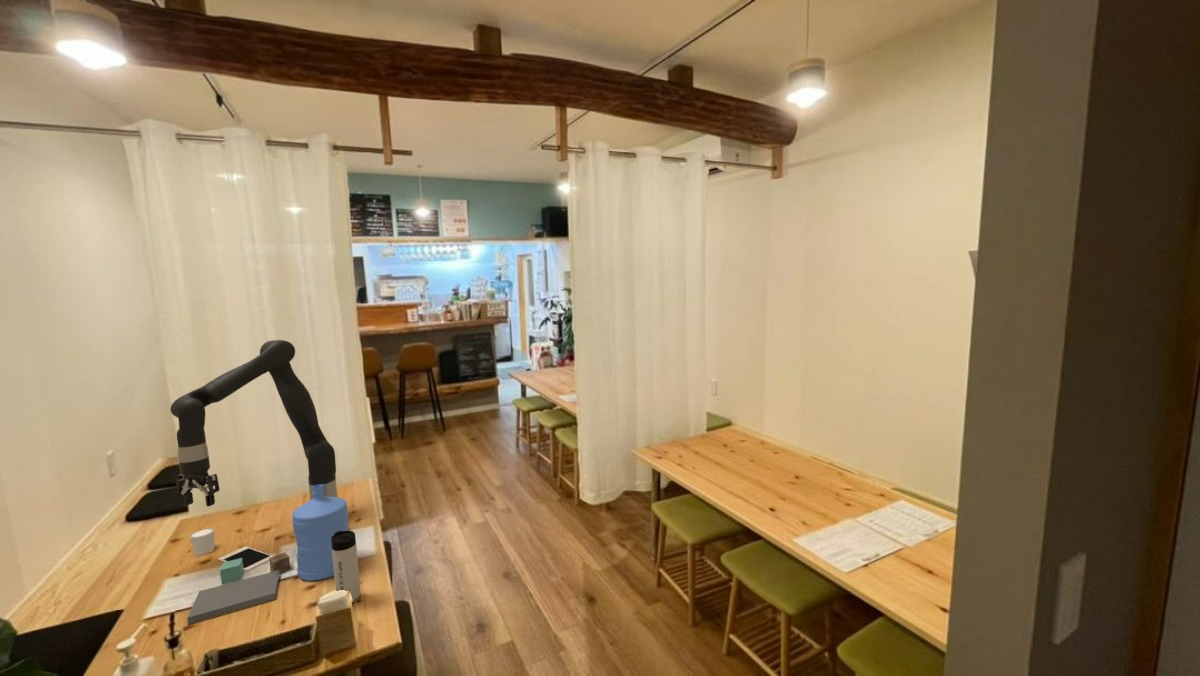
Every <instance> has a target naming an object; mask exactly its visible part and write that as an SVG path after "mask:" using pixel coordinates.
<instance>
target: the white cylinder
mask: <svg viewBox="0 0 1200 676" xmlns="http://www.w3.org/2000/svg"><path fill="white" fill-rule="evenodd" d="M215 531H216V530H215V528H210V527H209V528H203V529H200V530H197V531H195V532H193V533H191V535H189V538H190V542H191V546H192V550H193V554H194V556H198V557H200V556H204V555H207V554H210V553H212V552H213V551H214V550H215V546H216V544H215V539H216V538H215V537H216V535H215V534H216V532H215Z"/></svg>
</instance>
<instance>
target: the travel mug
mask: <svg viewBox="0 0 1200 676" xmlns="http://www.w3.org/2000/svg"><path fill="white" fill-rule="evenodd" d="M356 540H357V539H356V533H355V532H354V531H352V530H350V531H341V530H340V531H338V532H336V533H334V535H333V536H332V538H331V543H332V556H333V567H334V585H335V592H336V591H339V590H345V591H349V592H350V593H351V596H352V598H353V601H354V603H356V602H357V601H359V600H360V598H361V596H362V594H361V583H360V573H359V560H358V551H357V550H358V549H357V541H356Z"/></svg>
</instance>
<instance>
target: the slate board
mask: <svg viewBox="0 0 1200 676" xmlns="http://www.w3.org/2000/svg"><path fill="white" fill-rule="evenodd" d="M279 580H280V574H279V570H277V571H274V572H271V571H270V572H266V573H262V574H258V575H256V576H251V577H249V578H248V577H247V578H244V579H243V578H242V580H239V581H235V582H231V583H227V584H223V585H222V584H221V585H218V586H214V587H210V588H206V589H202V590H199V592H198V593H197V595H196V598H195V600H194V602H193V604H192V606H191V609H190V611H189V614H188V615H187V618H186V619H187V625H192V624H195V623H199V622H202V621H206V620H209V619H213V618H217V617H220V616H222V615H225V614H226V615H227V614H230V613H234V612H237V611H240V610H243V609H247V608H250V607H253V606H257V605H260V604H265V603H268V602H271V601H274V600H276V597H277V591H278V586H279Z"/></svg>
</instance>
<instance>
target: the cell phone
mask: <svg viewBox="0 0 1200 676" xmlns="http://www.w3.org/2000/svg"><path fill="white" fill-rule="evenodd" d="M273 556H274V555H272V554H268V553H266V552H263V551H260V550H258V549H255V548H251V547H249V546H246V545H245V546H243V547H240V548H239V549H236V550H234V551H232V552H230V553H228V554H225V555H223V556H221V557H218V558H217V560H218V561H219V562H222V563H223V562H227V561H232V560H236V559H240V558H242V560H243V569H244V572H250V571H252V570H254V569H256V568H258V567H260V566H262V565H264V564H266V563H268V562H269V558H271V557H273Z"/></svg>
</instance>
